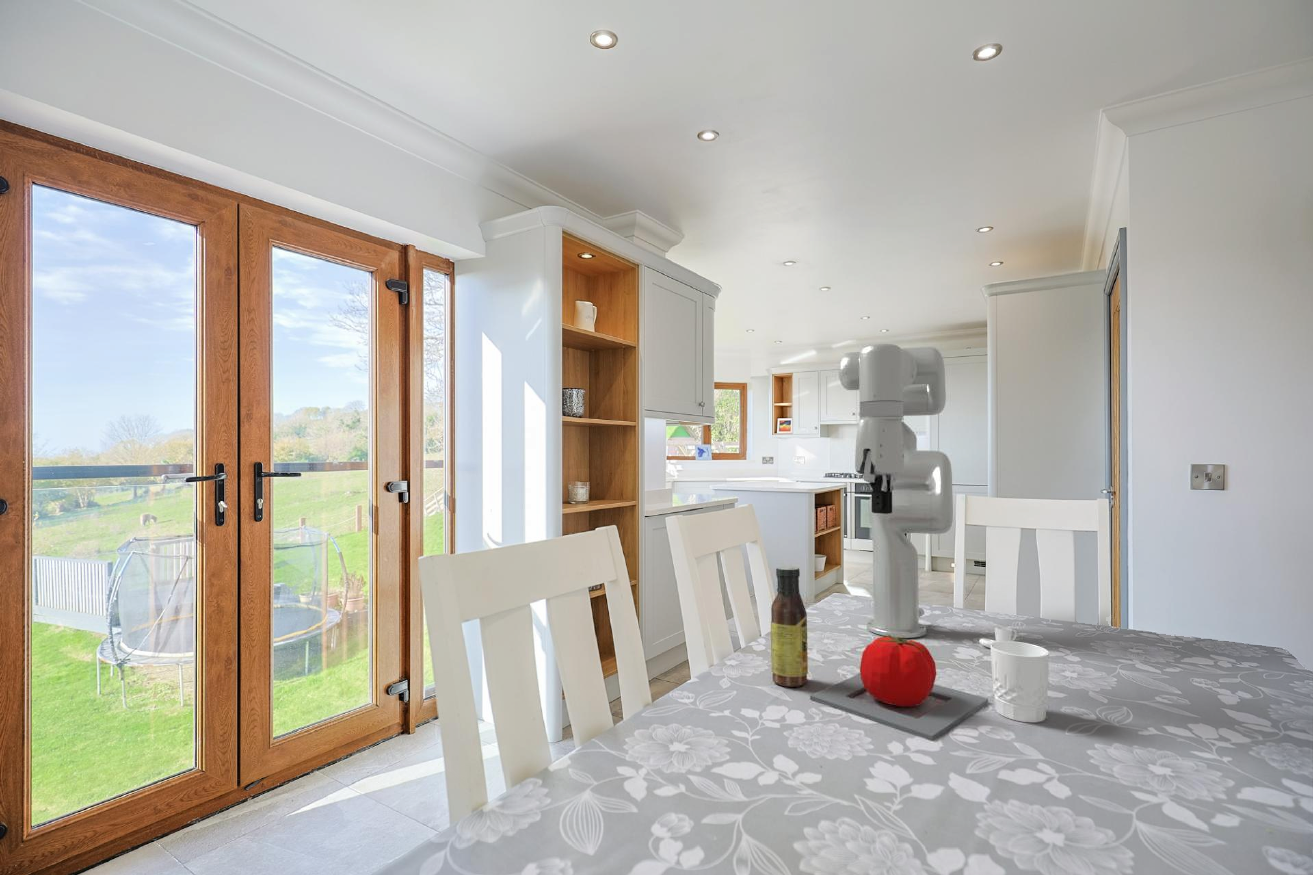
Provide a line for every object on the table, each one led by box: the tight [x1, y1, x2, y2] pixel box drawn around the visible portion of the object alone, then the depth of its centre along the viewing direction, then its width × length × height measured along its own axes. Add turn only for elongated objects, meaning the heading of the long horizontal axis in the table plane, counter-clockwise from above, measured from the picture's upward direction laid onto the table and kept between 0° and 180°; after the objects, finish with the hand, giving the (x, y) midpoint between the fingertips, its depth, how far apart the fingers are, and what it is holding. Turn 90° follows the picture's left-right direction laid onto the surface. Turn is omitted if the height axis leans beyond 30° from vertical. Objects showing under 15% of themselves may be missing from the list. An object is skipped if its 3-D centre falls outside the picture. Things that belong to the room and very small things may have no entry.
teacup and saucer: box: [978, 625, 1018, 649], centre depth 132 cm, size 9×8×4 cm
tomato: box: [859, 634, 937, 708], centre depth 103 cm, size 12×12×10 cm
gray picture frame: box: [809, 673, 989, 741], centre depth 103 cm, size 20×20×1 cm
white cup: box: [989, 640, 1050, 724], centre depth 98 cm, size 8×8×10 cm
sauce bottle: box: [770, 565, 809, 688], centre depth 112 cm, size 6×6×20 cm
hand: (881, 512), depth 116 cm, fingers closed
